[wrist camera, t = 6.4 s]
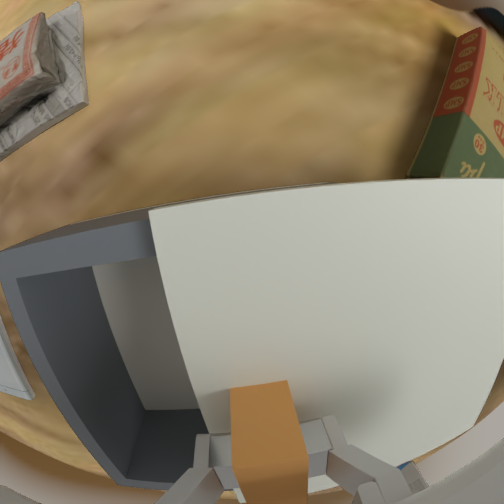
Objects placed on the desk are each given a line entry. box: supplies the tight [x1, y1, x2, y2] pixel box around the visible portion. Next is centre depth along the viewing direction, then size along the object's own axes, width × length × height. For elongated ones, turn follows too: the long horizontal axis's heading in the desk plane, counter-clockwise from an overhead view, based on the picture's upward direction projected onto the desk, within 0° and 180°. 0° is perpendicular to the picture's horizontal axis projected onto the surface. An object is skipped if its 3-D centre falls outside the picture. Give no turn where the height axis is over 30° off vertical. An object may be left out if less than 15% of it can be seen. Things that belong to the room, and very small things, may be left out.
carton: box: [406, 26, 504, 179], centre depth 14 cm, size 8×16×4 cm, turn 152°
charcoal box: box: [0, 182, 338, 491], centre depth 14 cm, size 16×16×8 cm
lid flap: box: [148, 178, 504, 504], centre depth 9 cm, size 17×17×4 cm
